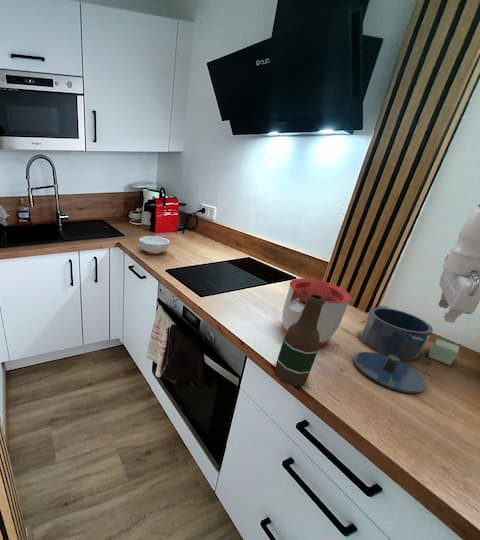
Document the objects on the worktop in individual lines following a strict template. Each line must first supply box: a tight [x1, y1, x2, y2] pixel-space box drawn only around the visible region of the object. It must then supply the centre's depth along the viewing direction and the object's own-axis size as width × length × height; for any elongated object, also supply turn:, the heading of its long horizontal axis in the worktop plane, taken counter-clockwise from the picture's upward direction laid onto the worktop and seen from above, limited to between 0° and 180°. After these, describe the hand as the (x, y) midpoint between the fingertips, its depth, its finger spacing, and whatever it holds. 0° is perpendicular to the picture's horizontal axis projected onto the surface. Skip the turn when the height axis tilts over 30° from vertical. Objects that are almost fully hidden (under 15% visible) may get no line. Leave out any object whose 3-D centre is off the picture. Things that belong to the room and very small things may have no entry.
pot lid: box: [353, 351, 427, 394], centre depth 76 cm, size 15×15×5 cm
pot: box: [359, 305, 434, 361], centre depth 87 cm, size 14×19×10 cm
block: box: [428, 338, 460, 366], centre depth 83 cm, size 4×4×4 cm
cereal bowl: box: [138, 235, 171, 255], centre depth 160 cm, size 17×17×7 cm
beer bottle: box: [273, 294, 325, 388], centre depth 70 cm, size 8×8×24 cm
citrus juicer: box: [281, 277, 352, 347], centre depth 88 cm, size 16×17×20 cm
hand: (445, 313), depth 76 cm, fingers open, 8 cm apart
